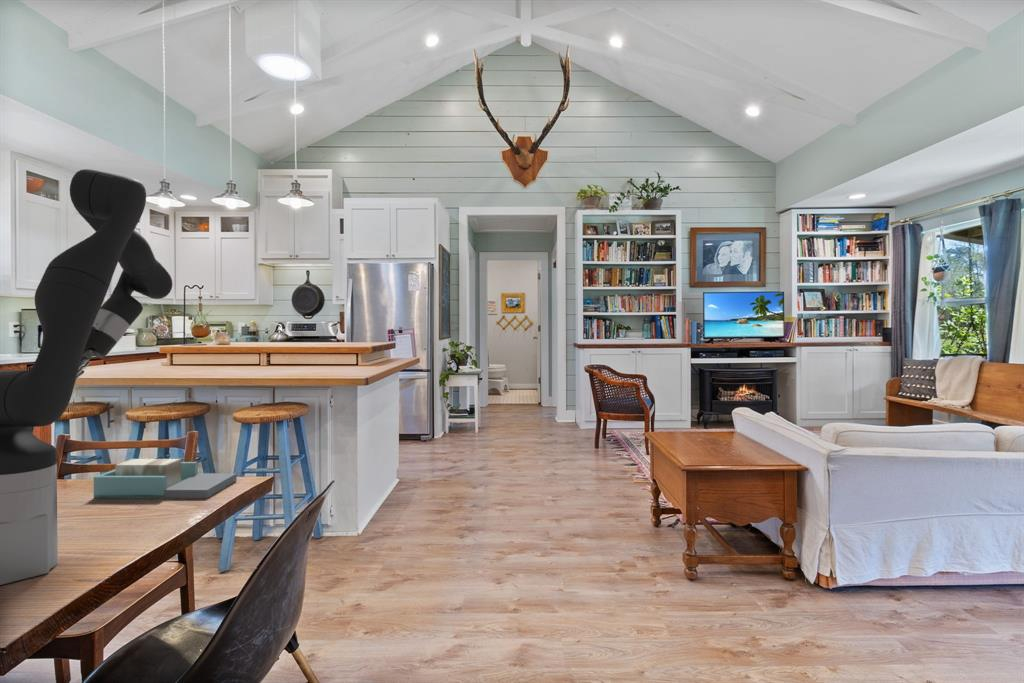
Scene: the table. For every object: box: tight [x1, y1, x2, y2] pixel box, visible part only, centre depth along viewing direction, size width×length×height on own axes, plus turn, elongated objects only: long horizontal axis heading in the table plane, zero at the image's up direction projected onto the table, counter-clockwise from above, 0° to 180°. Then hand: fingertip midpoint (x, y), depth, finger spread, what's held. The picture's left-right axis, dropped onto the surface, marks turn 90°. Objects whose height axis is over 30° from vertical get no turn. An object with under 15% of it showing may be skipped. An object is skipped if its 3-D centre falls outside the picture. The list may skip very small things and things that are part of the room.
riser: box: [163, 472, 238, 499], centre depth 129 cm, size 10×14×2 cm
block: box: [115, 458, 182, 488], centre depth 128 cm, size 6×6×12 cm
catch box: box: [93, 461, 199, 499], centre depth 128 cm, size 16×14×5 cm
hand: (44, 397), depth 111 cm, fingers closed
